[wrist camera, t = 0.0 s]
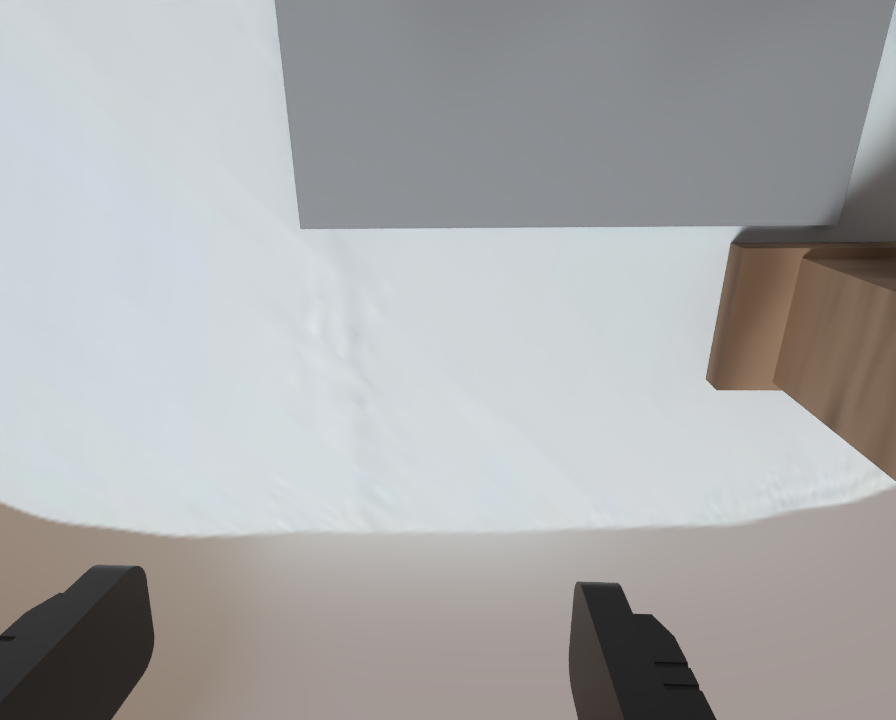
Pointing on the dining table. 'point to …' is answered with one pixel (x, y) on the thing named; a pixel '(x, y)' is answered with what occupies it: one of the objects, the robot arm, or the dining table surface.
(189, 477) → the dining table surface
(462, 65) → the rubber mat
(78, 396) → the dining table surface
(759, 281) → the walnut pedestal
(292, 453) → the dining table surface
